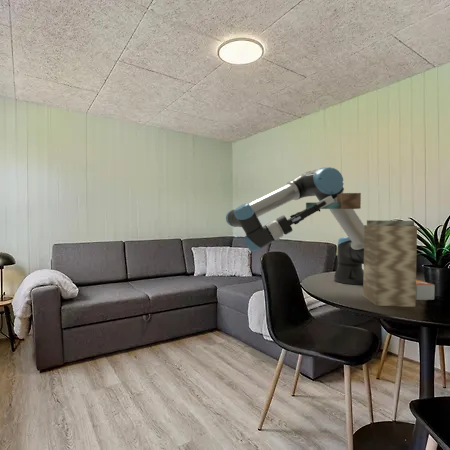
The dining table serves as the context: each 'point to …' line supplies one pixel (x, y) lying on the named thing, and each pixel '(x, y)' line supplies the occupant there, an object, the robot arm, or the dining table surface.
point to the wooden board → (390, 263)
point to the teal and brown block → (343, 202)
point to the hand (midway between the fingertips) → (331, 198)
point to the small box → (424, 290)
